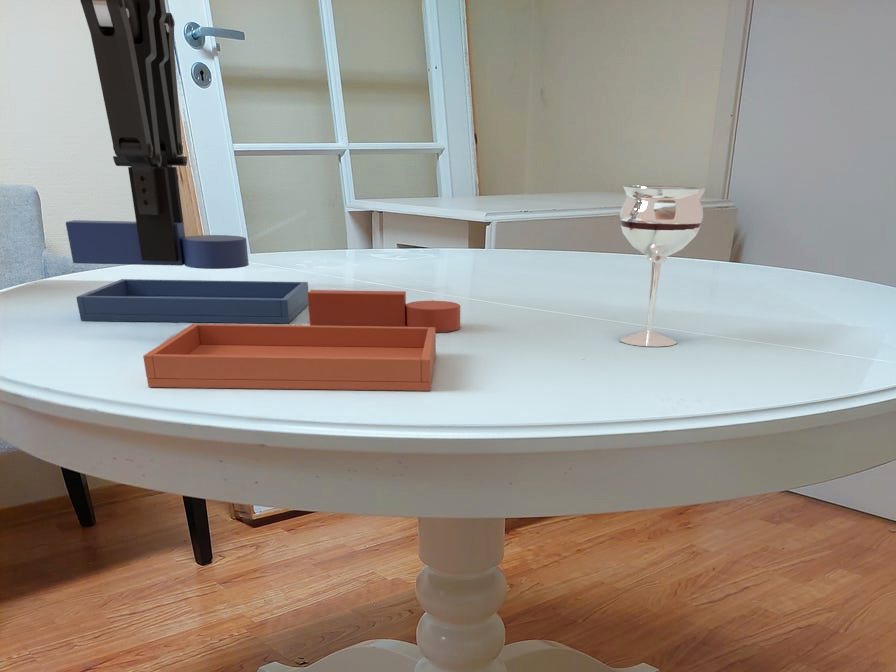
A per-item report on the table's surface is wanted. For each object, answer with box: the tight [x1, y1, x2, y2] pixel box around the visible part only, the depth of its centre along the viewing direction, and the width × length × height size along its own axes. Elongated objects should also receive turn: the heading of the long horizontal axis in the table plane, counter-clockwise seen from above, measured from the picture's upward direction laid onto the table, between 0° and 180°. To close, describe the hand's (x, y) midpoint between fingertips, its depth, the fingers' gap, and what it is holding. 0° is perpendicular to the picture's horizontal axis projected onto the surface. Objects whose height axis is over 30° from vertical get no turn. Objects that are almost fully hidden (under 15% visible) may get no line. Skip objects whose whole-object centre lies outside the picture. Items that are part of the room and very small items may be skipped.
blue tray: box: [75, 278, 310, 325], centre depth 87 cm, size 19×12×2 cm, turn 91°
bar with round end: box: [307, 289, 461, 333], centre depth 81 cm, size 14×5×3 cm, turn 91°
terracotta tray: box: [142, 323, 437, 392], centre depth 65 cm, size 19×12×2 cm, turn 91°
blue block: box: [65, 219, 249, 270], centre depth 71 cm, size 14×5×3 cm, turn 91°
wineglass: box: [618, 185, 707, 348], centre depth 75 cm, size 7×7×12 cm
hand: (165, 258), depth 71 cm, fingers closed on blue block, 2 cm apart
